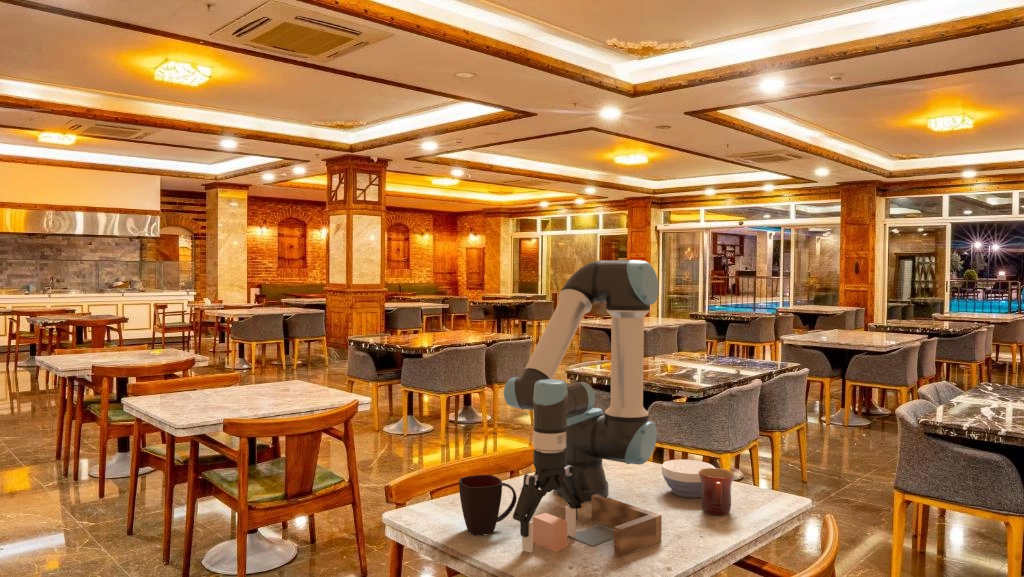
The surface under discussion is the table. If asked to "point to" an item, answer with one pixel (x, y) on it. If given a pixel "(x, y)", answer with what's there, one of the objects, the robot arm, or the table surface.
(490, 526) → the mug
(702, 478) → the mug
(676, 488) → the bowl
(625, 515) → the corner walls
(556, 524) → the block
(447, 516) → the table surface
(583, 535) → the pad
